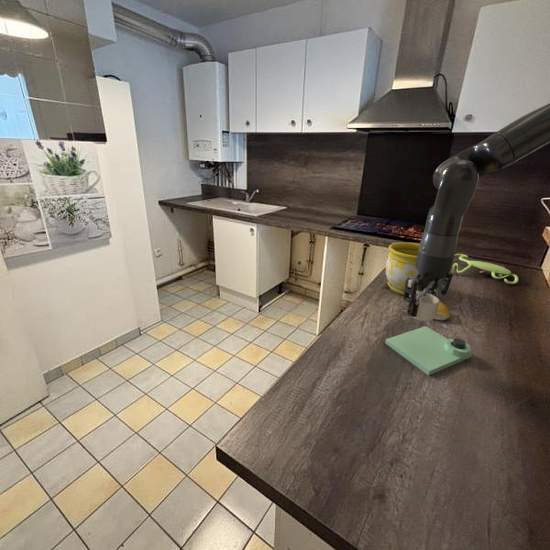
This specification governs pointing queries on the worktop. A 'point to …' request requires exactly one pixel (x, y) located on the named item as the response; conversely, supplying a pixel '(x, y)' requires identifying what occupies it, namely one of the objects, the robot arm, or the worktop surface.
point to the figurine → (486, 268)
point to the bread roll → (442, 312)
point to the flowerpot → (401, 265)
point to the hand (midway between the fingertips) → (421, 312)
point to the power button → (458, 343)
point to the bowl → (427, 308)
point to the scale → (428, 349)
